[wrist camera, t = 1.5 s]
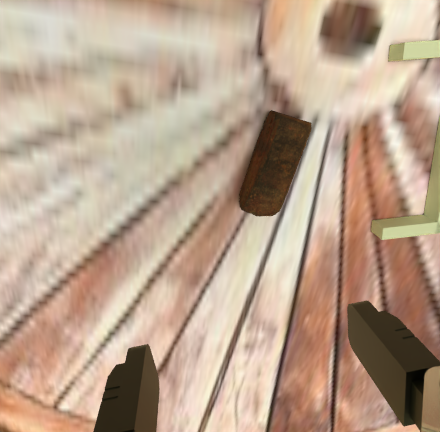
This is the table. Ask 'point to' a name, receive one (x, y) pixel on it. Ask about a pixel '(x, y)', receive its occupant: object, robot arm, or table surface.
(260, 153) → the brick
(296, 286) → the table surface
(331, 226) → the table surface
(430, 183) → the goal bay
